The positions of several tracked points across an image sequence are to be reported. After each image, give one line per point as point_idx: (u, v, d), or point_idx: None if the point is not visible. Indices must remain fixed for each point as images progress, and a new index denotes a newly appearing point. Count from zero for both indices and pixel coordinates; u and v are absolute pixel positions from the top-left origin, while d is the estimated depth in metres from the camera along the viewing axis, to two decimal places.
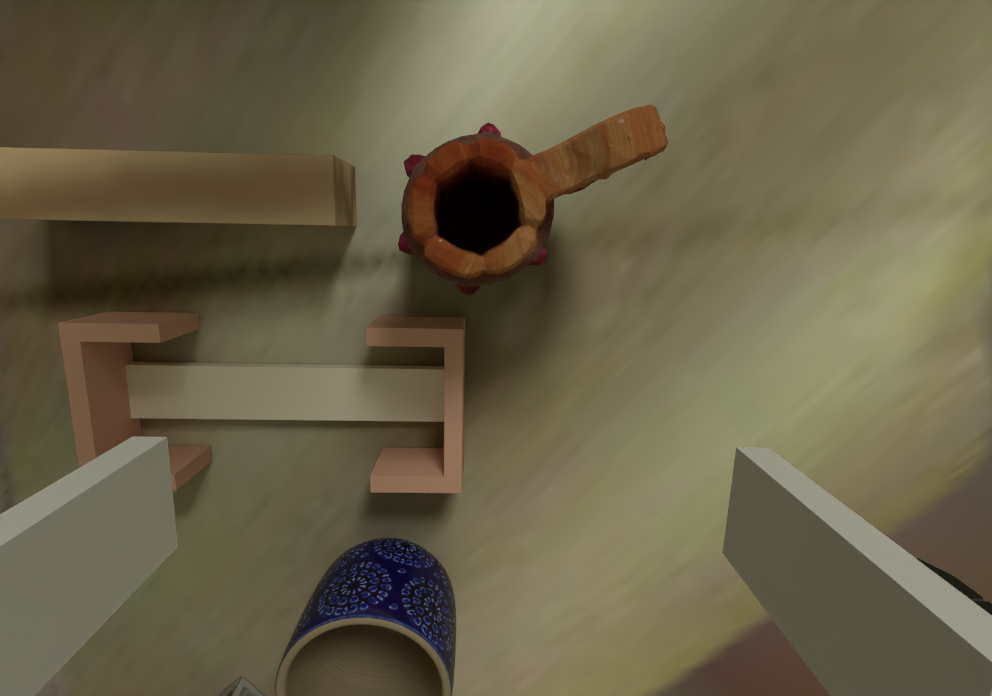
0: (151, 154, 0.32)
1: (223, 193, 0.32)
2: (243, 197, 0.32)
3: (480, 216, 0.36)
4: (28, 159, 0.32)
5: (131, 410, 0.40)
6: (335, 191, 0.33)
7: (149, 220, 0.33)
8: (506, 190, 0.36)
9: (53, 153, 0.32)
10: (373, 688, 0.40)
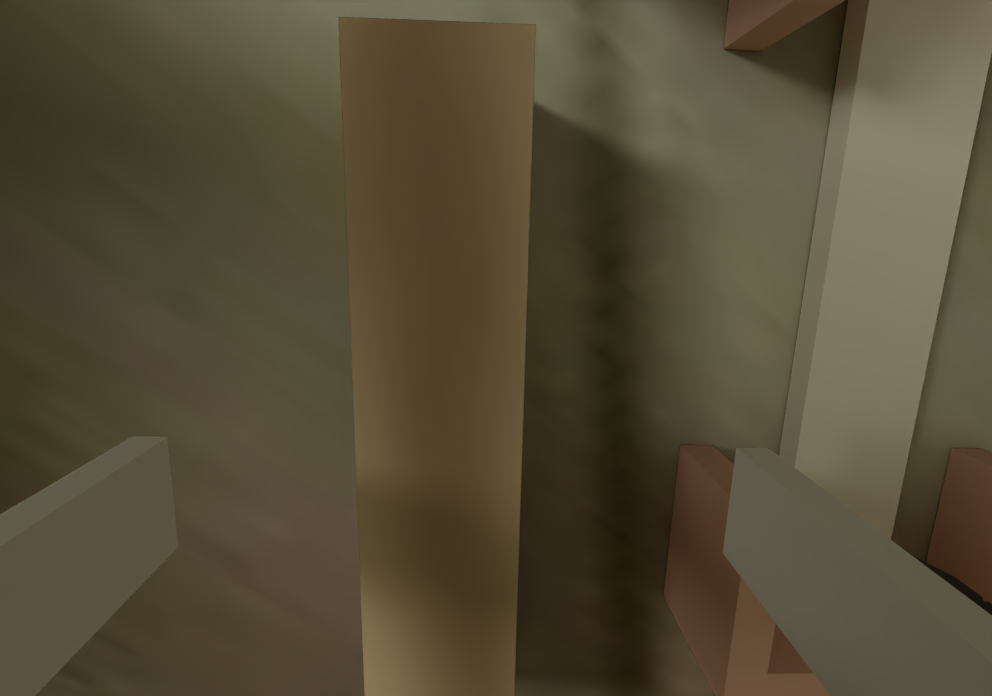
0: (364, 491, 0.13)
1: (451, 334, 0.13)
2: (460, 285, 0.12)
3: None
4: None
5: None
6: (440, 25, 0.11)
7: (517, 510, 0.14)
8: None
9: (375, 684, 0.15)
10: None
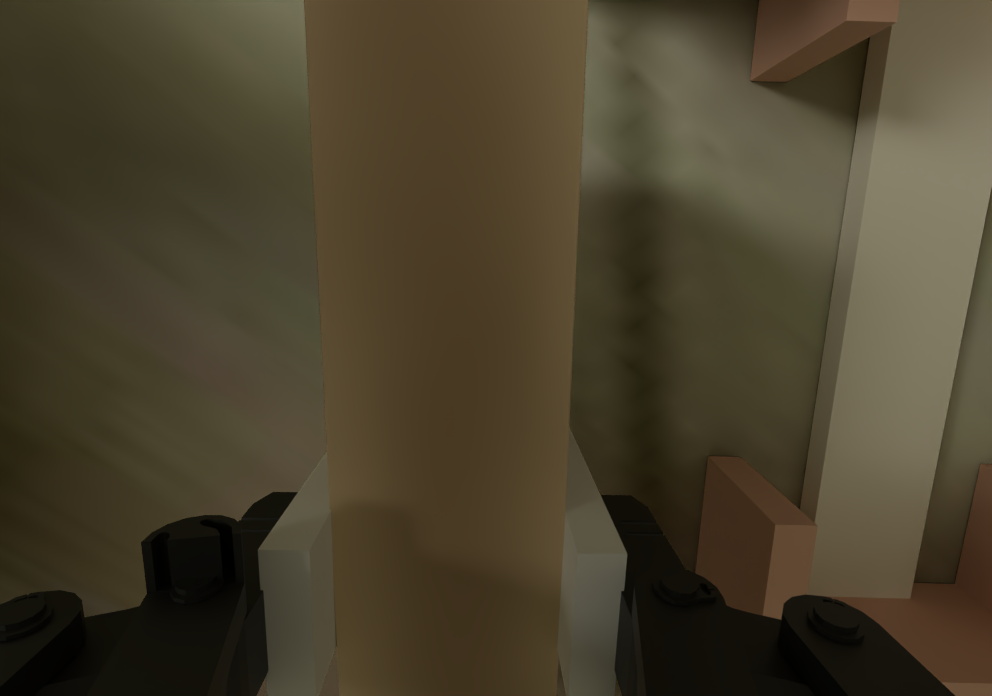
0: (345, 607, 0.10)
1: (465, 393, 0.09)
2: (477, 324, 0.09)
3: None
4: None
5: (892, 596, 0.20)
6: None
7: (555, 631, 0.10)
8: None
9: None
10: None
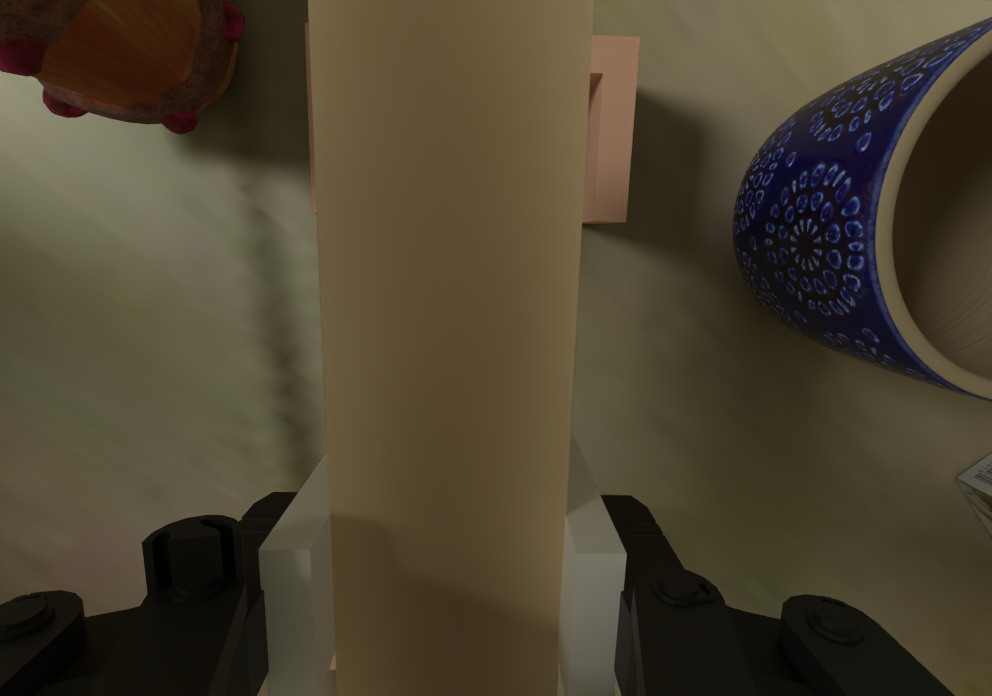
0: (344, 610, 0.10)
1: (467, 395, 0.09)
2: (479, 327, 0.09)
3: None
4: None
5: None
6: None
7: (555, 635, 0.10)
8: None
9: None
10: None
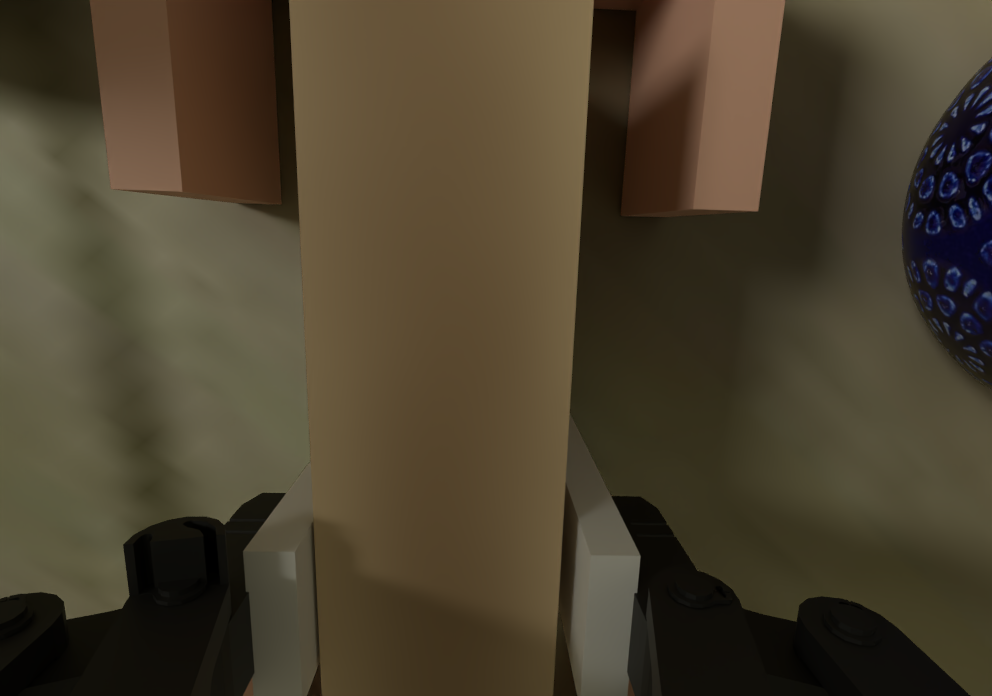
0: (329, 628, 0.09)
1: (459, 404, 0.08)
2: (472, 332, 0.08)
3: None
4: None
5: None
6: None
7: (551, 653, 0.09)
8: None
9: None
10: None
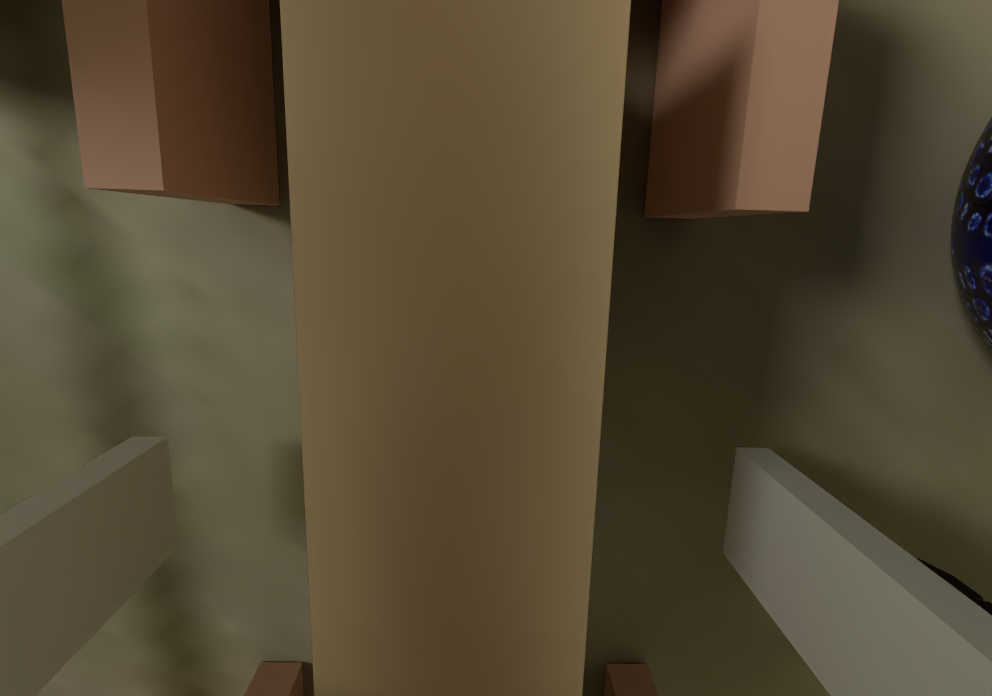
0: (326, 682, 0.08)
1: (473, 432, 0.07)
2: (489, 351, 0.07)
3: None
4: None
5: None
6: None
7: None
8: None
9: None
10: None
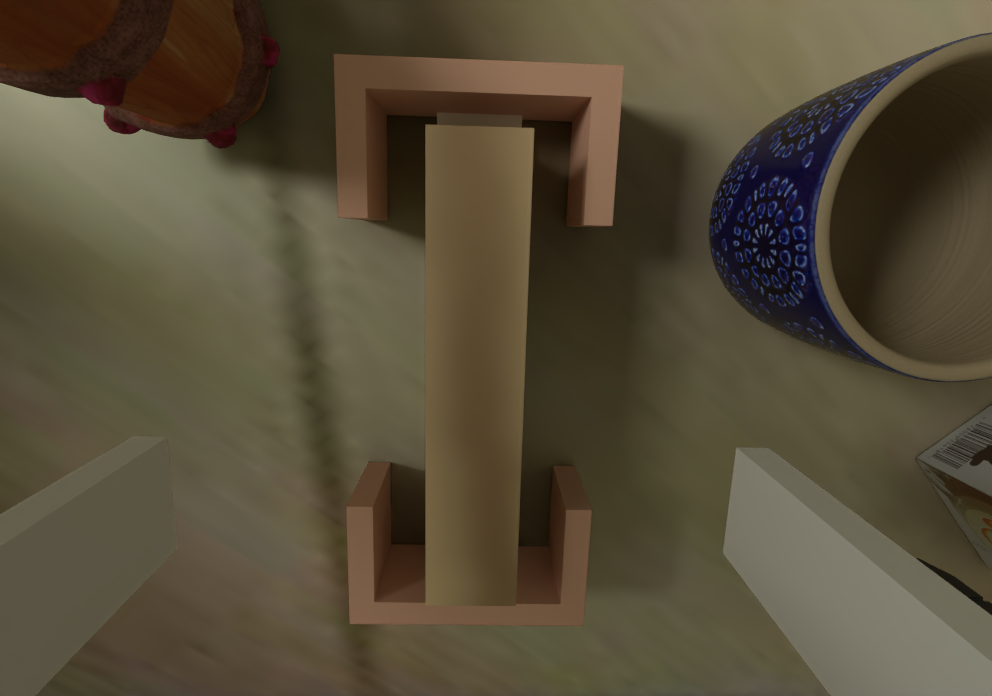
0: (430, 397, 0.22)
1: (484, 302, 0.21)
2: (489, 273, 0.21)
3: None
4: (439, 553, 0.24)
5: None
6: (481, 127, 0.20)
7: (521, 411, 0.22)
8: None
9: (432, 522, 0.23)
10: (977, 240, 0.23)
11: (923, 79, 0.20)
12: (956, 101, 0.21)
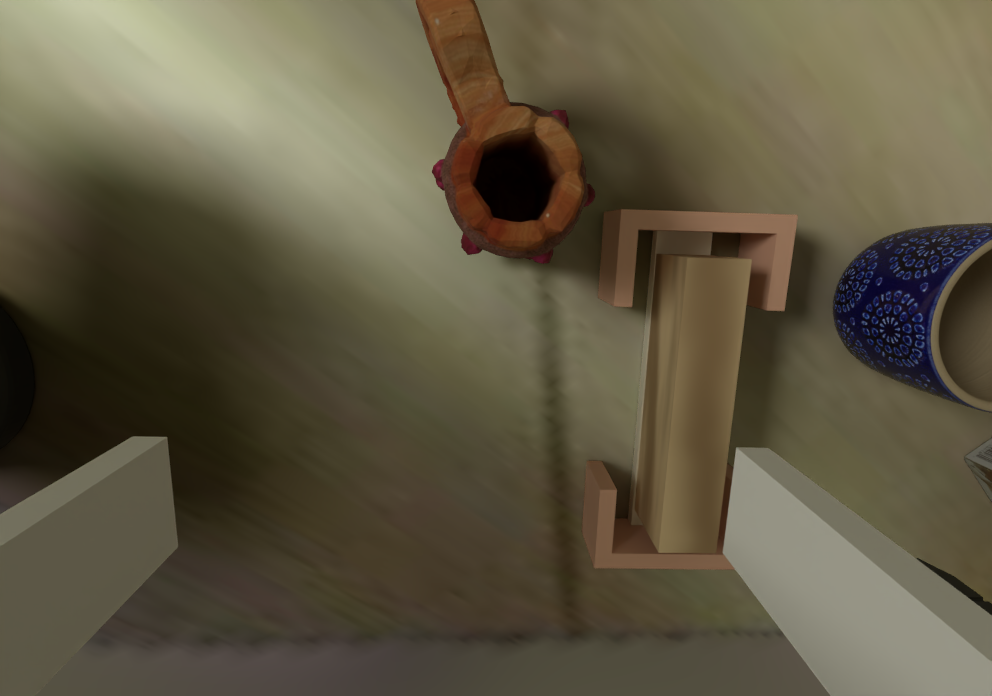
0: (674, 420, 0.35)
1: (712, 361, 0.35)
2: (717, 344, 0.35)
3: (507, 191, 0.36)
4: (670, 518, 0.37)
5: None
6: (718, 258, 0.34)
7: (729, 428, 0.36)
8: (482, 165, 0.37)
9: (667, 499, 0.37)
10: None
11: None
12: None
